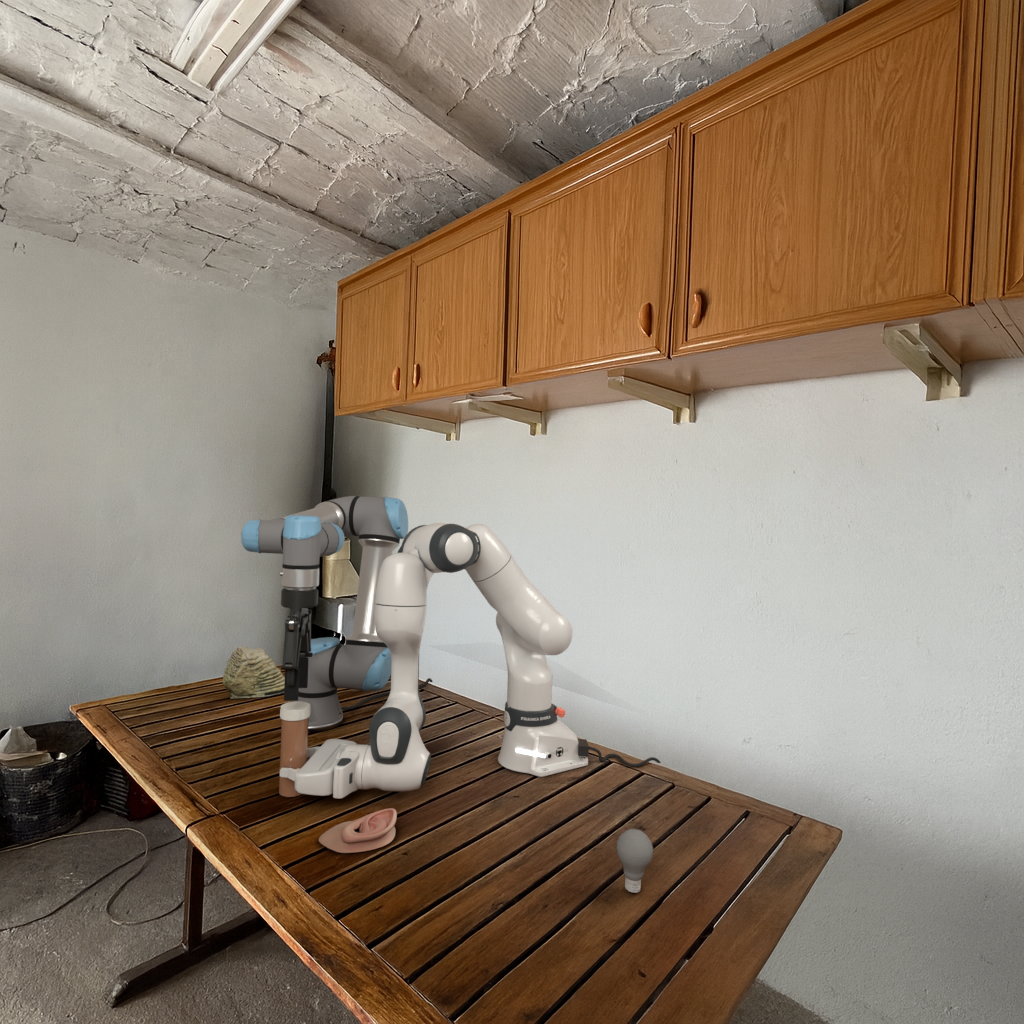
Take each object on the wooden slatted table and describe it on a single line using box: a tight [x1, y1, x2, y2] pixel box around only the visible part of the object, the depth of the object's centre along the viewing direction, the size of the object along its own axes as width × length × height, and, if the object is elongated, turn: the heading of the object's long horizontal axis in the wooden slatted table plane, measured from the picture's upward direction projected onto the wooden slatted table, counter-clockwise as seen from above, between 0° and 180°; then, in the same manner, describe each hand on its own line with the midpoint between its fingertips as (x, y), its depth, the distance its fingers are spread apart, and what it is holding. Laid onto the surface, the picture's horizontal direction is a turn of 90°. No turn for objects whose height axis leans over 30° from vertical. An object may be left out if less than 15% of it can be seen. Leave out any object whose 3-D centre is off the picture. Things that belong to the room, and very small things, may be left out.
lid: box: [279, 701, 311, 721], centre depth 135 cm, size 6×6×2 cm
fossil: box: [222, 646, 285, 699], centre depth 198 cm, size 9×18×15 cm, turn 132°
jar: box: [278, 717, 309, 798], centre depth 136 cm, size 6×6×18 cm
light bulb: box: [615, 828, 654, 894], centre depth 106 cm, size 6×6×10 cm
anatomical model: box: [318, 807, 398, 854], centre depth 118 cm, size 13×4×12 cm
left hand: (296, 693), depth 135 cm, fingers open, 8 cm apart
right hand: (290, 761), depth 136 cm, fingers open, 8 cm apart
